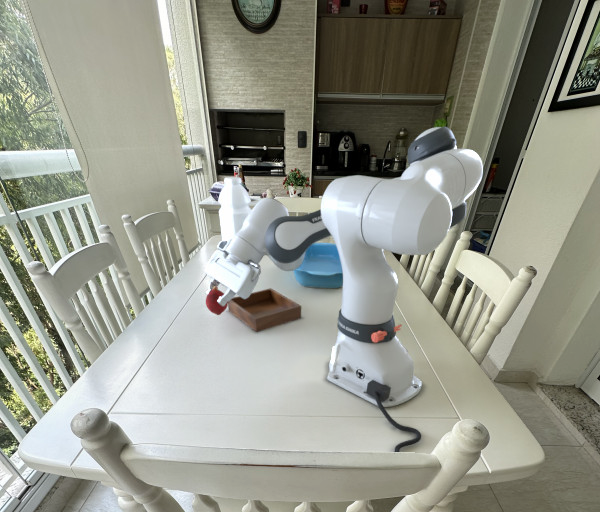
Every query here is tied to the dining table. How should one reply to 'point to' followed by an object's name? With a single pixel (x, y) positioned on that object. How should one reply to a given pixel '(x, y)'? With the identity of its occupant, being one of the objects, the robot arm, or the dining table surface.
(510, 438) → the dining table surface
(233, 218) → the bottle
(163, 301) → the dining table surface
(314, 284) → the casserole dish
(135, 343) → the dining table surface
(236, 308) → the tray
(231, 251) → the robot arm
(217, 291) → the onion
